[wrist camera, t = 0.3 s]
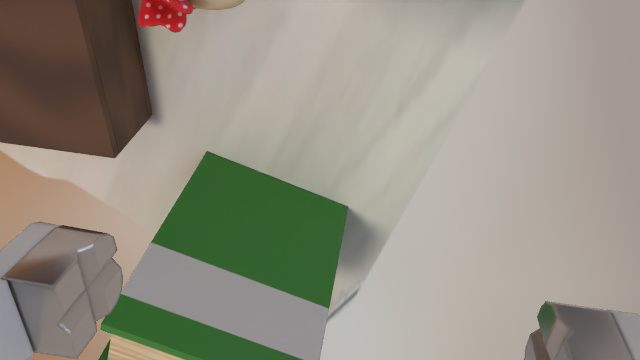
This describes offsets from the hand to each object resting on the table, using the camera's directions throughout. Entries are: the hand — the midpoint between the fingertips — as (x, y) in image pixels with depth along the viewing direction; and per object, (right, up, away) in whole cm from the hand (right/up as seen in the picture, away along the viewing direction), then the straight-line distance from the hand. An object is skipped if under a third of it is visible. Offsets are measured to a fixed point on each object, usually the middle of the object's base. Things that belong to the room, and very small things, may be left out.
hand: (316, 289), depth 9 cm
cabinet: (-25, +18, +41) cm, 51 cm away
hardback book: (-6, 0, +51) cm, 51 cm away
